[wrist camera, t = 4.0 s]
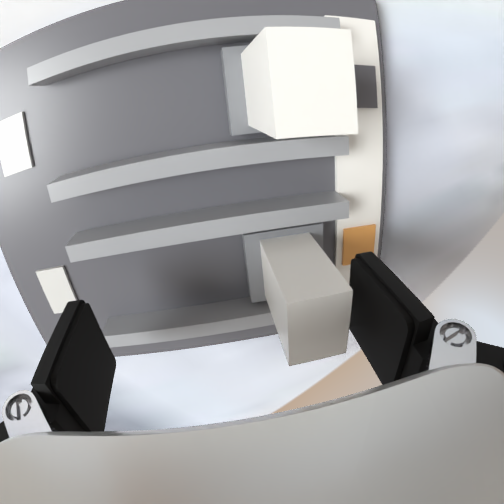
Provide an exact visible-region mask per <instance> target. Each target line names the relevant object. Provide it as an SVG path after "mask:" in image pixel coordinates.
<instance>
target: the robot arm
mask: <svg viewBox="0 0 504 504" xmlns="http://www.w3.org/2000/svg"><path fill="white" fill-rule="evenodd" d="M349 285H350V287H351V288H352V289H353V296H352V307H351V316H350V325H349V329H350V330H351V332H352V334H353V335H354V337H355V339H356V340H357V342H358V344H359V345H360V347H361V349H362V350H363V352H364V354H365V355H366V357H367V359H368V361H369V362H370V364H371V366H372V367H373V369H374V371H375V372H376V374H377V376H378V378H379V379H380V381H381V383H382V385H381V386H378V387H375V388H371V389H368V390H365V391H362V392H358V393H355V394H351V395H348V396H345V397H341V398H338V399H334V400H330V401H326V402H322V403H319V404H315V405H310V406H307V407H302V408H298V409H293V410H289V411H284V412H279V413H274V414H269V415H264V416H259V417H254V418H248V419H242V420H236V421H229V422H222V423H215V424H208V425H199V426H190V427H181V428H170V429H157V430H140V431H105V432H104V429H105V423H106V417H107V411H108V405H109V399H110V394H111V388H112V383H113V378H114V373H115V368H116V360H115V357H114V355H113V353H112V351H111V349H110V347H109V345H108V343H107V341H106V339H105V337H104V334H103V332H102V330H101V328H100V326H99V324H98V322H97V319H96V317H95V315H94V313H93V310H92V308H91V306H90V304H89V303H85V301H84V300H76V301H69V302H68V303H67V304H66V306H65V308H64V310H63V312H62V314H61V316H60V318H59V320H58V322H57V325H56V327H55V329H54V331H53V333H52V335H51V337H50V339H49V342H48V344H47V346H46V348H45V351H44V353H43V355H42V357H41V360H40V362H39V364H38V367H37V369H36V372H35V374H34V377H33V379H32V382H31V385H32V386H33V388H32V391H31V392H30V391H27V390H21V391H17V392H15V393H13V394H12V395H11V396H9V397H8V399H7V400H6V401H5V403H4V405H3V408H2V417H3V420H4V421H3V422H1V423H0V504H504V348H502V347H498V346H494V345H490V344H486V343H482V342H478V341H476V334H475V332H474V330H473V329H472V327H470V326H469V325H468V324H467V323H465V322H463V321H460V320H456V319H448V320H444V321H442V322H440V323H438V322H437V321H436V320H435V319H434V316H433V315H432V313H431V312H430V311H429V310H428V309H427V308H426V307H425V306H424V305H423V304H422V303H421V301H420V300H419V299H418V298H417V297H416V296H415V295H414V294H413V293H412V292H411V291H410V290H409V289H408V288H407V287H406V286H405V284H404V283H403V282H402V281H401V280H400V279H399V278H398V277H397V276H396V275H395V274H394V273H393V272H392V271H391V270H390V269H389V268H388V267H387V266H386V265H385V264H384V263H383V262H382V261H381V260H380V259H379V258H378V257H377V256H376V255H375V254H374V253H373V252H371V251H369V252H364V253H359V254H356V255H355V258H354V259H352V260H351V265H350V281H349Z"/></svg>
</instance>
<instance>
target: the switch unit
mask: <svg viewBox="0 0 504 504" xmlns="http://www.w3.org/2000/svg"><path fill="white" fill-rule="evenodd" d="M265 27H322V28H337V29H349V30H351V38H352V47H353V58H354V69H355V82H356V98H357V118H358V134H347V135H326V136H310V137H297V138H285V139H275V138H273V137H271V136H269V135H267V134H265V133H263V132H261V133H251V134H243V135H234V136H232V135H231V134H230V130H229V122H228V113H227V104H226V95H225V86H224V77H223V68H222V59H221V49H222V47H232V46H245V45H249V44H250V43H251V42H252V41H253V40H254V38H255V37H256V36H257V35H258V34H259V33H260V32H261V31H262V30H263V29H264V28H265ZM385 183H386V105H385V85H384V70H383V58H382V47H381V38H380V29H379V21H378V14H377V7H376V1H375V0H124V1H120V2H116V3H113V4H109V5H106V6H102V7H99V8H96V9H92V10H89V11H86V12H83V13H80V14H77V15H75V16H72V17H69V18H66V19H64V20H61V21H59V22H56V23H54V24H51V25H49V26H46V27H44V28H42V29H39V30H37V31H35V32H32V33H30V34H28V35H26V36H24V37H22V38H20V39H18V40H16V41H14V42H12V43H10V44H8V45H6V46H4V47H2V48H0V247H1V249H2V252H3V255H4V257H5V260H6V262H7V265H8V267H9V269H10V272H11V274H12V277H13V279H14V281H15V283H16V286H17V288H18V290H19V292H20V294H21V296H22V299H23V301H24V303H25V305H26V307H27V309H28V311H29V313H30V315H31V317H32V319H33V321H34V322H35V324H36V326H37V328H38V330H39V332H40V334H41V335H42V337H43V339H44V341H45V343H46V344H48V342H49V339H50V337H51V335H52V333H53V331H54V329H55V327H56V325H57V322H58V320H59V318H60V316H61V314H62V312H63V310H64V308H65V306H66V304H67V303H68V302H69V301H76V300H84V301H85V303H89V304H90V306H91V308H92V310H93V313H94V315H95V317H96V319H97V322H98V324H99V326H100V328H101V330H102V332H103V334H104V337H105V339H106V341H107V343H108V345H109V347H110V349H111V351H112V353H113V355H114V357H116V356H127V355H138V354H147V353H156V352H165V351H173V350H181V349H188V348H195V347H202V346H209V345H216V344H222V343H229V342H235V341H241V340H246V339H252V338H258V337H263V336H269V335H274V334H278V332H277V329H276V326H275V323H274V320H273V317H272V314H271V311H270V309H269V306H268V303H267V301H261V302H255V303H252V302H251V298H250V295H249V289H248V281H247V273H246V264H245V256H244V248H243V240H242V234H245V233H251V232H258V231H264V230H271V229H278V228H284V227H291V226H298V225H305V224H312V223H318V222H322V223H323V251H324V252H325V254H326V255H327V256H328V257H329V259H330V260H331V261H332V263H333V264H334V265H335V267H336V268H337V269H338V271H339V272H340V273H341V275H342V276H343V277H344V279H345V280H346V281H347V283H348V284H349V281H350V265H351V260H352V259H354V258H355V255H356V254H359V253H364V252H369V251H371V252H373V253H374V254H375V255H376V256H377V257H378V258H379V259H380V254H381V244H382V233H383V220H384V204H385Z"/></svg>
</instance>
